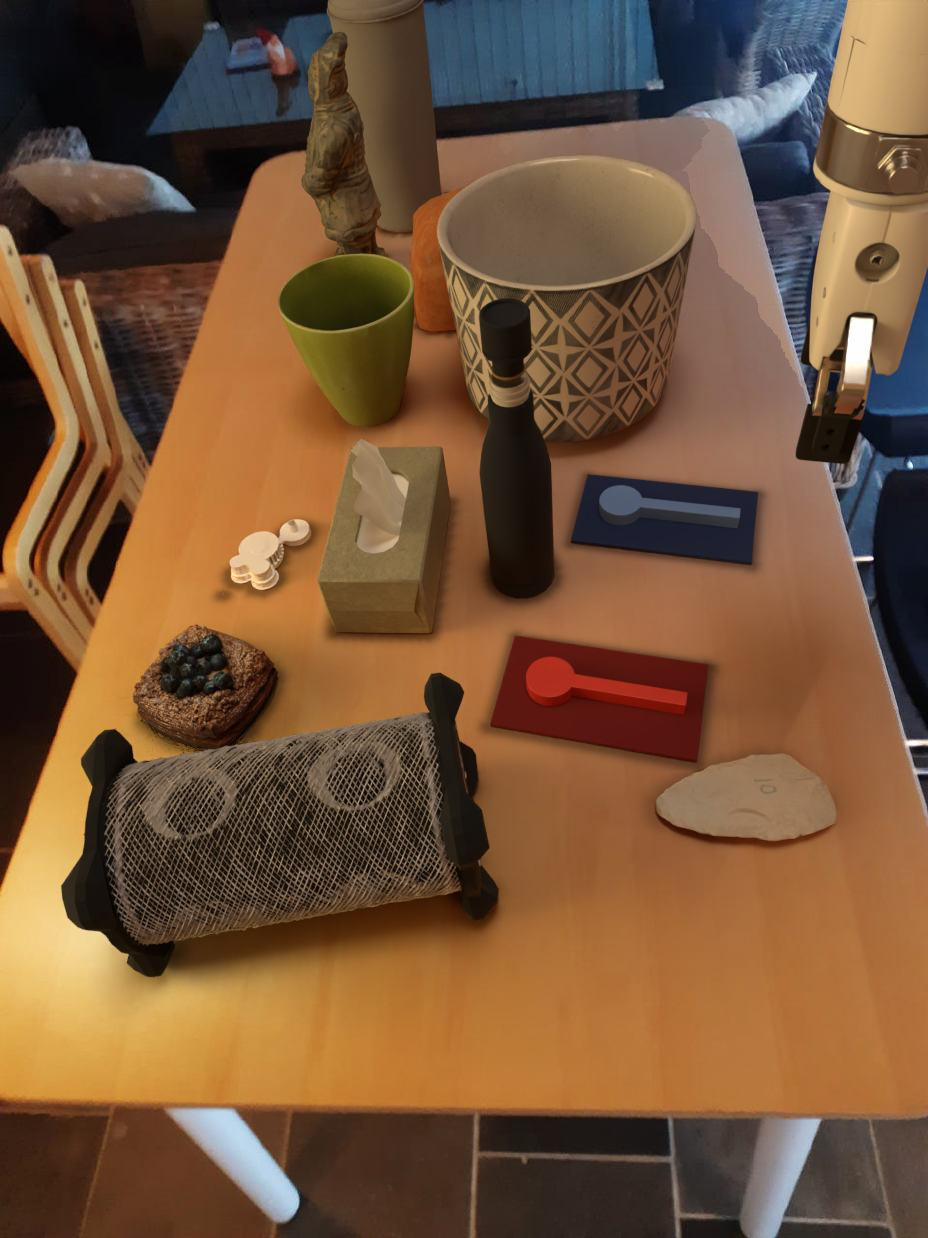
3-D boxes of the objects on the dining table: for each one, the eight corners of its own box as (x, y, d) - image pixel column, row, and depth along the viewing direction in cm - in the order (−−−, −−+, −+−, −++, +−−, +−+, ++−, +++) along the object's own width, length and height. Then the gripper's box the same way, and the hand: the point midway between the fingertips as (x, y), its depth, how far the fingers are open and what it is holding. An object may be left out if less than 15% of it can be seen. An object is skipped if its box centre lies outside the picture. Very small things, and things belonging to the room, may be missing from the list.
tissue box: (364, 499, 98) (334, 383, 86) (451, 499, 97) (433, 381, 84) (334, 635, 87) (294, 523, 74) (431, 637, 85) (407, 523, 73)
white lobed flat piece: (303, 589, 91) (297, 575, 89) (222, 594, 92) (215, 581, 90) (312, 523, 97) (308, 509, 95) (236, 529, 97) (230, 515, 96)
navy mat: (757, 494, 93) (758, 491, 92) (751, 564, 87) (751, 562, 87) (587, 476, 97) (587, 473, 97) (570, 542, 91) (570, 540, 91)
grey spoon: (739, 508, 91) (741, 497, 90) (736, 539, 89) (738, 528, 87) (602, 493, 94) (603, 482, 93) (595, 523, 92) (596, 512, 91)
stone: (842, 839, 69) (849, 828, 68) (666, 860, 70) (668, 849, 68) (810, 751, 74) (815, 739, 72) (646, 771, 74) (647, 759, 73)
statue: (332, 252, 131) (279, 23, 108) (394, 250, 130) (354, 17, 106) (317, 295, 125) (258, 60, 101) (382, 293, 123) (337, 54, 100)
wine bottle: (485, 594, 88) (452, 335, 64) (498, 547, 92) (471, 286, 68) (548, 601, 87) (539, 339, 63) (559, 553, 90) (553, 289, 67)
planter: (630, 491, 95) (642, 310, 78) (420, 434, 104) (390, 261, 87) (706, 351, 108) (731, 171, 91) (514, 312, 117) (504, 141, 100)
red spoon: (688, 688, 79) (689, 678, 77) (682, 730, 76) (683, 720, 75) (532, 662, 82) (531, 652, 81) (521, 702, 79) (520, 692, 78)
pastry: (227, 765, 79) (205, 732, 74) (126, 720, 83) (99, 685, 78) (294, 672, 84) (277, 635, 80) (196, 633, 89) (175, 597, 84)
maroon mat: (707, 666, 80) (708, 664, 80) (696, 762, 74) (697, 760, 74) (515, 637, 84) (514, 635, 84) (490, 726, 79) (490, 724, 78)
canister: (445, 235, 131) (410, -48, 104) (362, 240, 133) (306, -38, 105) (452, 192, 139) (421, -82, 111) (373, 197, 140) (324, -71, 113)
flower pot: (455, 390, 108) (440, 271, 96) (384, 464, 101) (357, 345, 89) (360, 358, 114) (334, 241, 102) (287, 425, 107) (249, 309, 95)
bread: (667, 308, 114) (678, 189, 102) (417, 339, 116) (398, 225, 103) (646, 252, 123) (654, 136, 111) (414, 281, 124) (396, 170, 112)
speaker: (154, 811, 77) (77, 722, 65) (476, 755, 77) (458, 656, 65) (138, 989, 67) (45, 922, 56) (504, 925, 68) (490, 845, 56)
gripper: (993, 233, 39) (886, 508, 52) (964, 68, 49) (881, 335, 62) (814, 226, 41) (755, 494, 54) (822, 69, 51) (770, 328, 64)
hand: (822, 409), depth 58 cm, fingers open, 9 cm apart
